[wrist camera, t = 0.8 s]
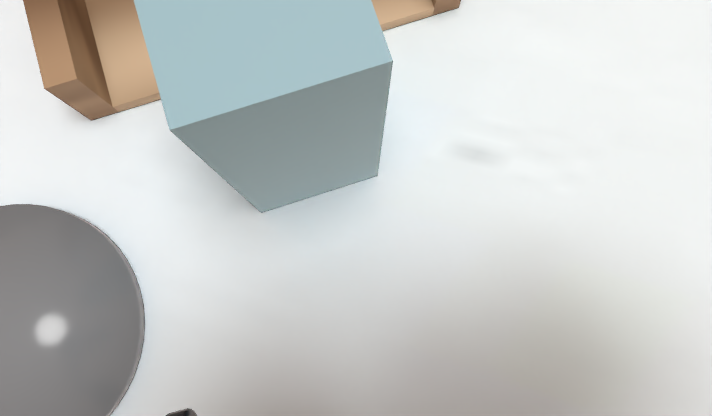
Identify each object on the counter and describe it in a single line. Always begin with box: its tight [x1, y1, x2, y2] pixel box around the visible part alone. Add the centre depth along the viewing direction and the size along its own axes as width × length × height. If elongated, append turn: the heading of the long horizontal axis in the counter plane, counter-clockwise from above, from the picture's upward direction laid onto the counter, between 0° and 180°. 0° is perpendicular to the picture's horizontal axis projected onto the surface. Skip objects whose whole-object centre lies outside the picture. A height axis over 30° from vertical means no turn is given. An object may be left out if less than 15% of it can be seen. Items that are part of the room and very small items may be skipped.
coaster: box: [0, 204, 145, 416], centre depth 22 cm, size 10×10×1 cm
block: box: [134, 0, 393, 213], centre depth 18 cm, size 5×5×11 cm
